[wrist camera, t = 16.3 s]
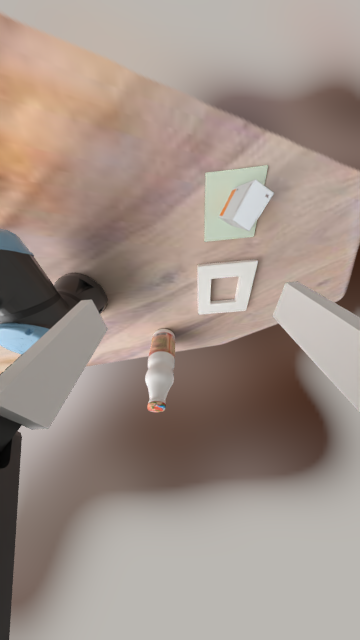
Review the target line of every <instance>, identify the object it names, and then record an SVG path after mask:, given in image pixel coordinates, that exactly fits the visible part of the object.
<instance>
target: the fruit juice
mask: <svg viewBox="0 0 360 640" xmlns="http://www.w3.org/2000/svg"><path fill="white" fill-rule="evenodd" d="M174 364H175V335H174V333H173V332H172V331H170V330H168V329H159V330H157V331H156V332H155V333H154V335H153V338H152V343H151V349H150V354H149V359H148V371H147V373H146V377H145V382H146V384H147V387H148V390H149V397H150V401H149V402H148V410H149V411H152V412H162V411H164V410H165V408H166V402H165V399H166V396H167V393H168V391H169V389H170V387H171V386H172V384H173V381H174V374H173V369H174Z"/></svg>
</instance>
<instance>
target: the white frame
mask: <svg viewBox="0 0 360 640" xmlns="http://www.w3.org/2000/svg"><path fill="white" fill-rule="evenodd" d="M257 264H258V261H257V260H256V259H252V260H241V261H231V262H220V263H210V264H199V265H197V286H198V315H199V314H212V313H224V312H237V311H246V309H247V305H248V301H249V297H250V293H251V288H252V284H253V280H254V276H255V272H256V268H257ZM238 276H239V277H238ZM227 277H238V282H237V288H236V294H235V299H230V300H218V301H210V294H211V279H216V278H227Z"/></svg>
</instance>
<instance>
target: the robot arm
mask: <svg viewBox="0 0 360 640" xmlns="http://www.w3.org/2000/svg"><path fill="white" fill-rule="evenodd" d="M106 305H107V296H106V294H105V292H104V290H103V289H102V287H101V286H100V285H99V284H98V283H97V282H95V281H94V280H93V279H91V278H89V277H87V276H85V275H82V274H77V273H70V274H66V275H64V276H62V277H61V278H59V279H58V280H57V281H56V282H55V285H53V284H52V282H51V281H50V279H49V278H48V277H47V275H46V274H45V272H44V271H43V269H42V268H41V267H40V265H39V264H38V262H37V261H36V259H35V258H34V255H33V254H32V253H31V252H30V251H29V250H28V249H27V247H26V246H25V245H24V244H23V242H22V241H21V240H20V238H19V237H18V236H17V235H15V234H14V233H12V232H10V231H8V230H4V229H0V345H1V346H2V347H4V348H6V349H8V350H10V351H13V352H16V353H19V354H22V355H21V356H20V357H19V358H18V359H17V360H15V361H14V363H13V364H11V365H10V366H9V367H8V368H7V369H6V370H5V371H4V372H2V373H1V374H0V640H9V632H10V616H11V599H12V584H13V567H14V551H15V535H16V519H17V503H18V488H19V486H18V485H19V472H20V456H21V455H20V454H21V440H22V437H21V433H20V432H18V429H19V428H20V426H21V425H23V426H25V427H28V428H30V429H49V427H50V426H51V424H52V422H53V421H54V419H55V417H56V416H57V414H58V412H59V410H60V409H61V407H62V405H63V404H64V402H65V400H66V399H67V397H68V395H69V394H70V392H71V390H72V388H73V387H74V385H75V383H76V382H77V380H78V378H79V377H80V375H81V373H82V372H83V370H84V368H85V367H86V365H87V363H88V362H89V360H90V358H91V357H92V355H93V353H94V352H95V350H96V348H97V346H98V345H99V343H100V341H101V340H102V338H103V336H104V335H105V333H106V331H107V330H108V328H107V327H106V325H105V323H104V321H103V319H102V317H101V316H100V313H102V312H103V310H104V309H105V308H106ZM273 317H274V319H275V320H276V321H277V322H278V323H279V324H280V325H281V326H282V327H283V328H284V329H285V331H286V332H287V333H288V334H289V335H290V336H291V337H292V338H293V339H294V341H295V342H296V343H297V344H298V345H299V346H300V347H301V348H302V349H303V350H304V351H305V353H306V354H307V355H308V356H309V357H310V358H311V359H312V360H313V362H314V363H315V364H316V365H317V366H318V367H319V368H320V369H321V370H322V371H323V373H324V374H325V375H326V376H327V377H328V378H329V379H330V380H331V381H332V382H333V383H334V385H335V386H336V387H337V388H338V389H339V390H340V391H341V392H342V393H343V395H344V396H345V397H346V398H347V399H348V400H349V401H350V402H351V403H352V404H353V406H354V407H355V408H356V409H357V410H358V411H359V412H360V317H358V316H356V315H354V314H353V313H351V312H349V311H347V310H346V309H344V308H343V307H341V306H339V305H337V304H336V303H334V302H332V301H330V300H329V299H327V298H325V297H324V296H322V295H320V294H318V293H317V292H315V291H313V290H312V289H310V288H308V287H306V286H305V285H303V284H301V283H300V282H286V283H285V286H284V288H283V291H282V293H281V296H280V298H279V301H278V303H277V306H276V309H275V311H274V314H273Z"/></svg>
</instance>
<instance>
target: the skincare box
mask: <svg viewBox="0 0 360 640" xmlns="http://www.w3.org/2000/svg"><path fill="white" fill-rule="evenodd" d="M273 195H274V192H272V191H271V190H270V189H268V188H267V187H266V186H264V185H263V184H261V183H260V182H259V181H257V180H256V179H255V180H252V181H250V182H247V183H245V184H242V185H240V186H237V187H235V188H233V189H232V191H231V193H230V195H229V197H228V199H227V201H226V203H225V205H224V207H223V209H222V211H221V213H220V215H219V218H220V219H222V220H223V221H225V222H226V223H228V224H229V225H231V226H234V227H237V228H241V229H244V230H247V231H250V230H251V228H252V227H253V225H254V224H255V222H256V220H257V219H258V218H259V216H260V215H261V214H262V212H263V210H264V208H265V207H266V205H267V204H268V202H269V201H270V199H271V198H272V196H273Z"/></svg>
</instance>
